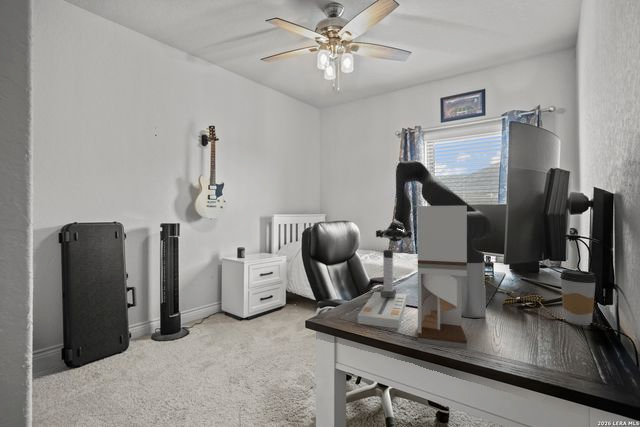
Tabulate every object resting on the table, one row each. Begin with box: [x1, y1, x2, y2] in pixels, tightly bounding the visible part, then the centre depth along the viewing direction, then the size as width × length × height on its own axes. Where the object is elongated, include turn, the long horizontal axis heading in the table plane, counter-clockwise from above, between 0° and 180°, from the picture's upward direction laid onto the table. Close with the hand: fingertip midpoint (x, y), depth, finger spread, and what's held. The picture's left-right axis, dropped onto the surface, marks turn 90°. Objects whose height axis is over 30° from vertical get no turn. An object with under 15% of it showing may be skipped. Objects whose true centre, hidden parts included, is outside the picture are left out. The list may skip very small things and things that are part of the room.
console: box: [357, 291, 408, 330], centre depth 102 cm, size 12×28×3 cm, turn 159°
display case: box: [417, 205, 468, 349], centre depth 81 cm, size 11×11×35 cm
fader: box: [380, 249, 397, 298], centre depth 109 cm, size 5×4×16 cm
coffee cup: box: [560, 269, 597, 326], centre depth 91 cm, size 8×8×15 cm
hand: (391, 235), depth 119 cm, fingers open, 8 cm apart
